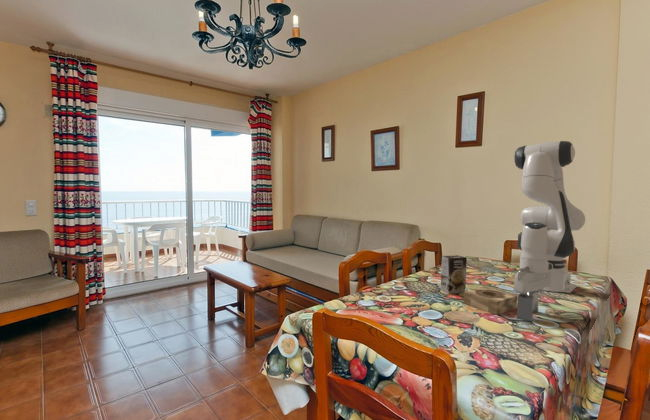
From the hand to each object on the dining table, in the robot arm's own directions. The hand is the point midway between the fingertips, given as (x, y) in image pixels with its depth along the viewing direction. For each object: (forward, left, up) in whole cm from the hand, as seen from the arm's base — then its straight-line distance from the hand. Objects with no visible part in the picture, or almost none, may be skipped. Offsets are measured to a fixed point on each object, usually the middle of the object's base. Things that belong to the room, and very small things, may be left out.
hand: (531, 301), depth 124 cm
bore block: (+8, -12, -4) cm, 15 cm away
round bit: (0, 0, -4) cm, 4 cm away
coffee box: (+4, -32, -4) cm, 32 cm away
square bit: (+9, +2, -4) cm, 10 cm away
